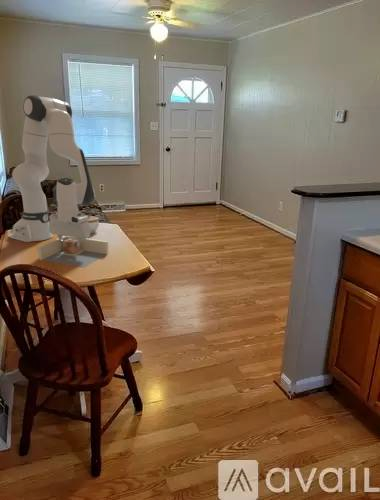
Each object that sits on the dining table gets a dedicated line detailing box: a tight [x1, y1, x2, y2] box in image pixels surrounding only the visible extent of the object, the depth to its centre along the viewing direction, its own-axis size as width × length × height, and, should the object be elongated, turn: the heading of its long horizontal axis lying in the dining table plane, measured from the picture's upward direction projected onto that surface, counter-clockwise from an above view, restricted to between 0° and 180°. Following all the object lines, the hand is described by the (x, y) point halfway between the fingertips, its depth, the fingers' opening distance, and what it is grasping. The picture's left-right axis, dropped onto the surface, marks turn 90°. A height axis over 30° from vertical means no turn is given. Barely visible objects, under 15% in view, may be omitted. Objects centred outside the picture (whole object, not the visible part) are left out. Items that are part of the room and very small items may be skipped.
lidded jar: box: [87, 214, 100, 234], centre depth 211 cm, size 11×11×9 cm
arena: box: [37, 235, 110, 268], centre depth 171 cm, size 23×20×7 cm
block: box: [63, 238, 81, 255], centre depth 175 cm, size 6×6×6 cm
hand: (70, 245), depth 175 cm, fingers open, 7 cm apart
